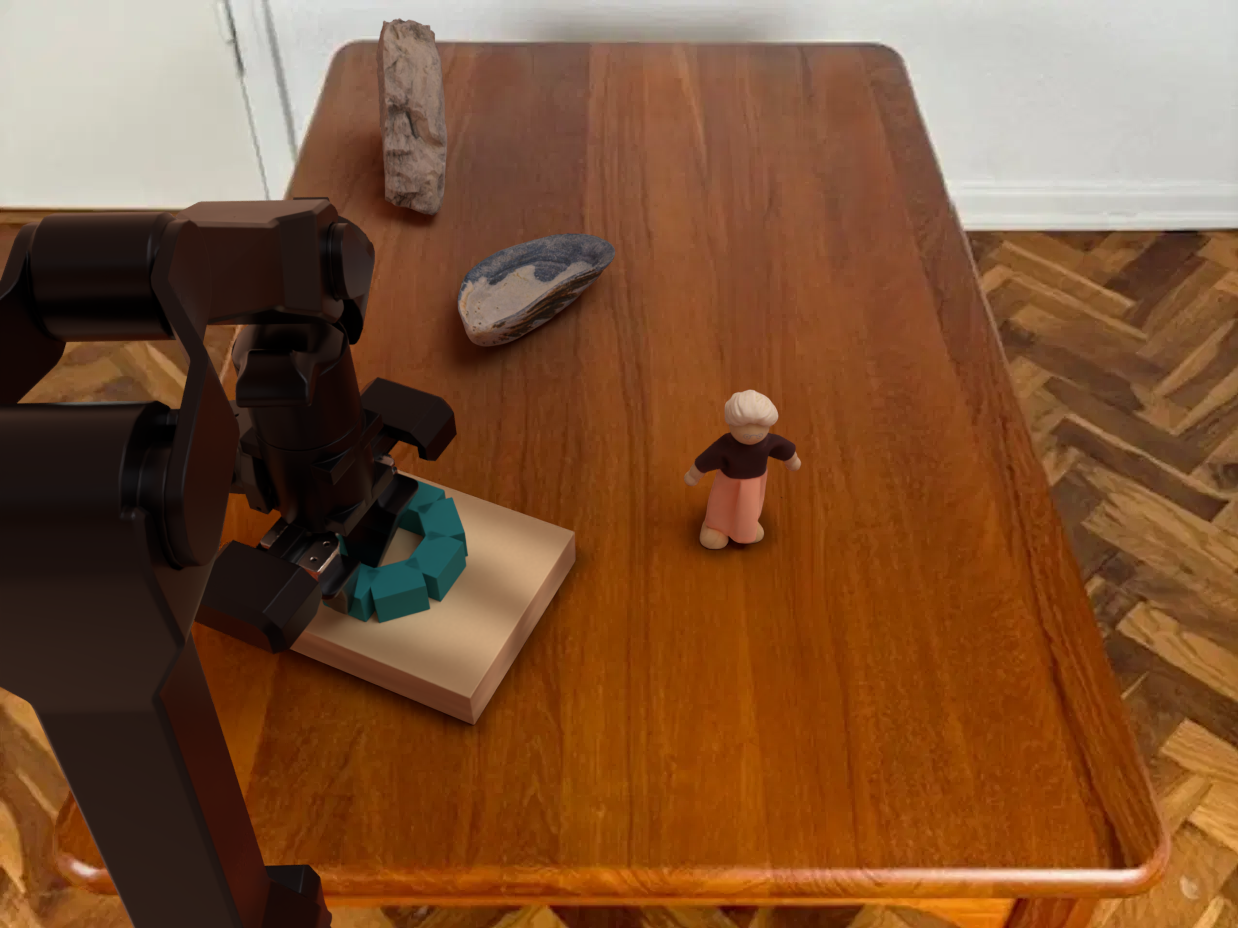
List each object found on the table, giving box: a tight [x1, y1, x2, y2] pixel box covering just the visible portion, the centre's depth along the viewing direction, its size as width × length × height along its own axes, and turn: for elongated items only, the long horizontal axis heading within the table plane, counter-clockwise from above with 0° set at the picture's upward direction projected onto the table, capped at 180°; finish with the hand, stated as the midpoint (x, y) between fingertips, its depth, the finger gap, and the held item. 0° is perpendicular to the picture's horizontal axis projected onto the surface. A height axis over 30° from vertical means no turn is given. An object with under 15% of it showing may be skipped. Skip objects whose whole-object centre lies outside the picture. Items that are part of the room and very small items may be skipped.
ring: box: [322, 480, 468, 623], centre depth 76 cm, size 10×10×2 cm
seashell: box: [456, 232, 616, 347], centre depth 96 cm, size 15×12×5 cm
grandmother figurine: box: [683, 389, 802, 550], centre depth 78 cm, size 8×4×13 cm, turn 111°
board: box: [289, 469, 577, 726], centre depth 77 cm, size 14×18×3 cm
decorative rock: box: [375, 17, 448, 216], centre depth 107 cm, size 16×7×15 cm, turn 8°
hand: (354, 594), depth 74 cm, fingers closed on ring, 2 cm apart
